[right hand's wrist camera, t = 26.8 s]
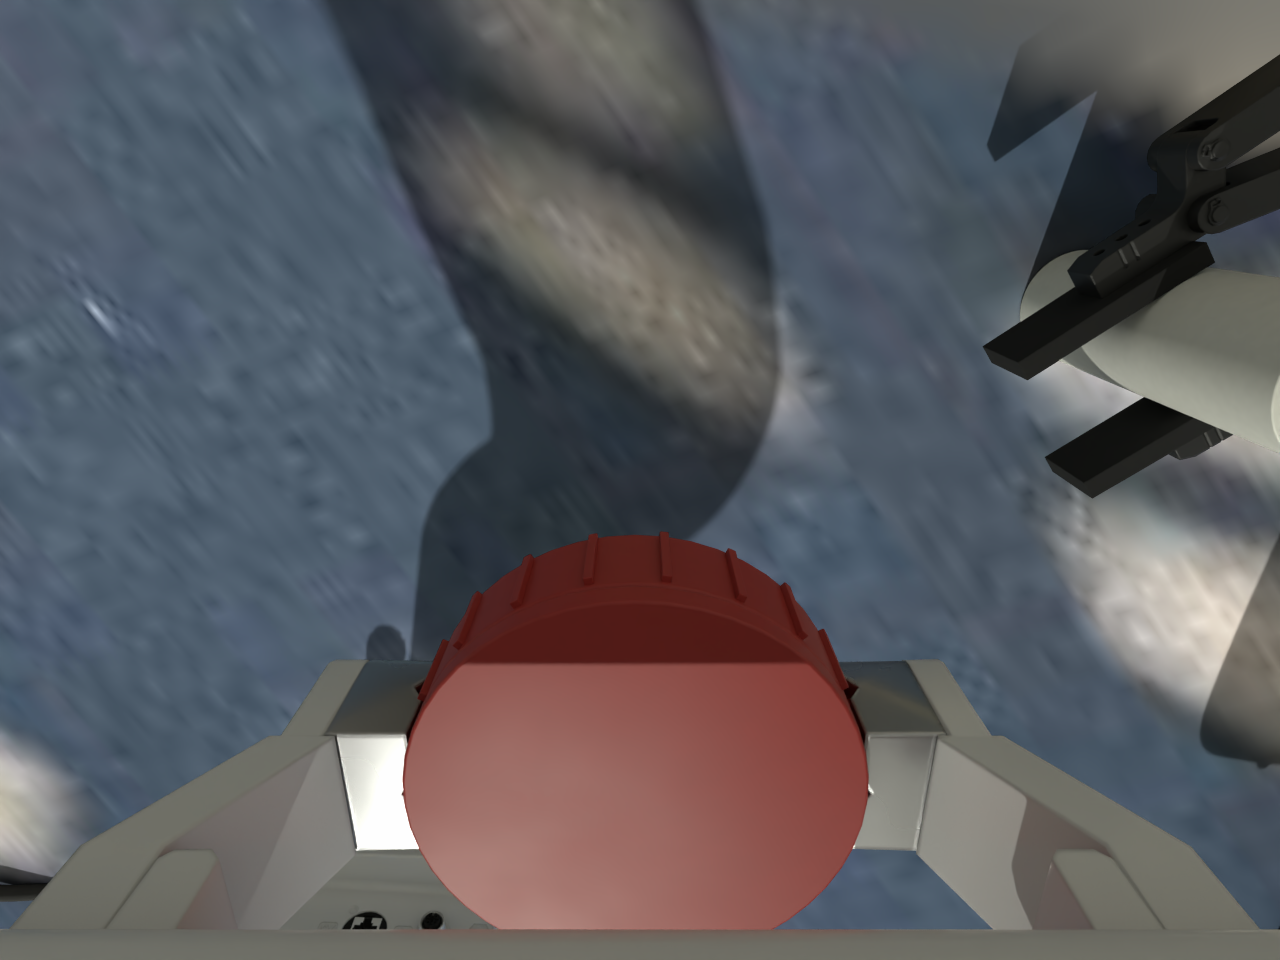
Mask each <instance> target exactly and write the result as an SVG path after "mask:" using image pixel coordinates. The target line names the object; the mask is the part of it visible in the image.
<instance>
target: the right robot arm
mask: <svg viewBox="0 0 1280 960" xmlns="http://www.w3.org/2000/svg"><path fill="white" fill-rule="evenodd" d="M432 663H433V661H408V660H371V661H370V660H335V661H332V662H330V663H329V664H328V665H327V666H326V668H325V669H324V671H323V672H322V674H321V675H320V677H319V678H318V680H317V681H316V683H315V684H314V686H313V687H312V689H311V690H310V692H309V694H308V695H307V697H306V698H305V700H304V701H303V703H302V704H301V706H300V707H299V709H298V710H297V712H296V713H295V715H294V716H293V718H292V719H291V721H290V722H289V724H288V725H287V727H286V728H285V730H284V731H283V733H282V734H281V736H268V737H267V738H265V739H263V740H261V741H260V742H258V743H256V744H255V745H253V746H251V747H249V748H248V749H246V750H244V751H243V752H241V753H239V754H237V755H236V756H234V757H232V758H230V759H229V760H227V761H225V762H224V763H222V764H220V765H218V766H217V767H215V768H213V769H212V770H210V771H208V772H206V773H205V774H203V775H201V776H199V777H198V778H196V779H194V780H193V781H191V782H189V783H187V784H186V785H184V786H182V787H181V788H179V789H177V790H175V791H174V792H172V793H170V794H169V795H167V796H165V797H163V798H162V799H160V800H158V801H156V802H155V803H153V804H151V805H150V806H148V807H146V808H144V809H143V810H141V811H139V812H138V813H136V814H134V815H132V816H131V817H129V818H127V819H125V820H124V821H122V822H120V823H119V824H117V825H115V826H113V827H112V828H110V829H108V830H107V831H105V832H103V833H101V834H100V835H98V836H96V837H95V838H93V839H91V840H89V841H88V842H86V843H84V844H82V845H81V846H80V847H79V848H78V849H77V850H76V851H75V853H74V854H73V855H72V856H71V857H70V858H69V860H68V861H67V862H66V863H65V864H64V865H63V867H62V868H61V869H60V870H59V871H58V872H57V874H56V875H55V876H54V877H53V878H52V879H51V881H50V882H49V883H48V884H25V885H0V902H3V901H29V900H34V901H33V902H32V903H31V904H30V905H29V906H28V908H27V909H26V910H25V911H24V912H23V913H22V915H21V916H20V917H19V918H18V919H17V920H16V922H15V923H14V924H13V925H12V926H11V927H10V929H0V960H1280V929H1259V928H1258V926H1257V925H1256V924H1255V923H1254V922H1253V920H1252V919H1251V918H1250V917H1249V916H1248V914H1247V913H1246V912H1245V911H1244V910H1243V908H1242V907H1241V906H1240V905H1239V904H1238V902H1237V901H1236V900H1235V899H1234V898H1233V896H1232V895H1231V894H1230V893H1229V892H1228V890H1227V889H1226V888H1225V887H1224V886H1223V884H1222V883H1221V882H1220V881H1219V880H1218V878H1217V877H1216V876H1215V875H1214V874H1213V872H1212V871H1211V870H1210V869H1209V868H1208V866H1207V865H1206V864H1205V863H1204V862H1203V860H1202V859H1201V858H1200V857H1199V856H1198V854H1197V853H1196V852H1195V851H1194V850H1193V848H1192V847H1190V846H1189V845H1187V844H1185V843H1184V842H1182V841H1180V840H1179V839H1177V838H1175V837H1173V836H1172V835H1170V834H1168V833H1167V832H1165V831H1163V830H1162V829H1160V828H1158V827H1157V826H1155V825H1153V824H1151V823H1150V822H1148V821H1146V820H1145V819H1143V818H1141V817H1140V816H1138V815H1136V814H1134V813H1133V812H1131V811H1129V810H1128V809H1126V808H1124V807H1123V806H1121V805H1119V804H1117V803H1116V802H1114V801H1112V800H1111V799H1109V798H1107V797H1106V796H1104V795H1102V794H1100V793H1099V792H1097V791H1095V790H1094V789H1092V788H1090V787H1089V786H1087V785H1085V784H1083V783H1082V782H1080V781H1078V780H1077V779H1075V778H1073V777H1072V776H1070V775H1068V774H1066V773H1065V772H1063V771H1061V770H1060V769H1058V768H1056V767H1055V766H1053V765H1051V764H1049V763H1048V762H1046V761H1044V760H1043V759H1041V758H1039V757H1038V756H1036V755H1034V754H1032V753H1031V752H1029V751H1027V750H1026V749H1024V748H1022V747H1021V746H1019V745H1017V744H1016V743H1014V742H1012V741H1010V740H1009V739H1007V738H1005V737H1004V736H991V734H990V733H989V731H988V730H987V728H986V727H985V725H984V724H983V722H982V721H981V719H980V718H979V716H978V715H977V713H976V711H975V710H974V708H973V707H972V705H971V704H970V702H969V701H968V699H967V698H966V696H965V695H964V693H963V692H962V690H961V689H960V687H959V685H958V684H957V682H956V681H955V679H954V678H953V676H952V675H951V673H950V672H949V670H948V669H947V667H946V666H945V664H944V663H943V662H941V661H940V660H938V659H925V660H902V661H873V662H839V665H840V667H841V669H842V672H843V674H844V676H845V679H846V681H847V684H848V686H849V688H847V689H844V693H845V695H846V698H847V699H848V700H849V701H850V708H851V711H852V713H853V715H854V717H855V720H856V722H857V725H858V727H859V730H860V734H861V737H862V740H863V744H864V747H865V751H866V756H867V765H868V773H869V784H868V801H867V806H866V810H865V815H864V819H863V824H862V827H861V830H860V832H859V835H858V837H857V840H856V842H855V845H854V847H853V849H882V850H917V852H916V854H917V855H918V856H919V857H920V858H921V859H922V860H923V861H924V862H925V863H926V864H927V865H928V866H929V867H930V868H931V869H932V870H933V871H935V872H936V873H937V874H938V875H939V876H940V877H941V878H942V879H943V880H944V881H945V882H946V883H947V884H948V885H949V886H950V887H951V888H952V889H953V890H954V891H955V892H956V893H957V894H958V895H959V896H960V897H961V898H962V899H963V900H964V901H965V902H966V903H967V904H968V905H969V906H970V907H971V908H972V909H973V910H974V911H975V912H976V913H977V914H978V915H979V916H980V917H981V918H982V919H983V920H984V921H985V922H986V923H987V924H989V925H990V926H991V927H992V928H993V929H994V930H744V929H498V928H496V927H494V926H493V925H491V924H489V923H487V922H486V921H484V920H483V919H482V918H480V917H479V916H478V915H476V914H475V913H473V912H472V911H471V910H469V909H468V908H467V907H465V906H464V905H463V904H462V903H461V902H460V901H459V900H458V899H457V898H456V897H455V896H454V895H453V894H452V893H451V892H449V891H448V890H447V889H446V887H445V886H444V885H443V884H442V882H441V881H440V880H439V879H438V878H437V876H436V875H435V874H434V873H433V871H432V870H431V869H430V867H429V865H428V864H427V862H426V860H425V859H424V857H423V855H422V854H421V852H420V850H419V848H418V846H417V844H416V841H415V839H414V836H413V834H412V832H411V829H410V826H409V822H408V818H407V814H406V810H405V805H404V796H403V782H402V777H403V766H404V756H405V752H406V748H407V744H408V741H409V737H410V733H411V730H412V728H413V725H414V723H415V721H416V718H417V716H418V714H419V711H420V709H421V706H422V704H423V702H424V701H421V700H418V699H417V697H418V695H419V693H420V691H421V688H422V686H423V684H424V681H425V679H426V677H427V674H428V672H429V670H430V668H431V665H432Z"/></svg>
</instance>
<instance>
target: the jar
mask: <svg viewBox="0 0 1280 960" xmlns="http://www.w3.org/2000/svg"><path fill="white" fill-rule="evenodd" d="M1086 251H1088V250H1078V251H1073V252H1070V253H1067V254H1064V255H1062V256H1060V257H1057V258H1056V259H1054V260H1052V261H1051V262H1049V263H1048V264H1047V265H1046V266H1044V267H1043V268H1042V269H1041V270H1040V271H1039V272H1038V273H1037V274H1036V275H1035V277H1034V278H1033V279H1032V281H1031V282H1030V284H1029V285H1028V287H1027V289H1026V291H1025V294H1024V296H1023V299H1022V303H1021V309H1020V322H1021V321H1023V320H1024V319H1026V318H1027V317H1029V316H1030V315H1032V314H1033V313H1035V312H1037V311H1038V310H1040V309H1041V308H1043V307H1044V306H1046V305H1047V304H1049V303H1050V302H1052V301H1054V300H1055V299H1057V298H1058V297H1060V296H1061V295H1063V294H1064V293H1066V292H1067V291H1069V290H1071V289H1072V288H1074V287H1075V286H1074V284H1073V282H1072V280H1071V278H1070V276H1069V274H1068V272H1067V270H1068V269H1069V268H1070V266H1071V265H1072V264H1073V263H1074V261H1075V260H1076V259H1077V258H1078V257H1079V256H1080V255H1082V254H1083V253H1085V252H1086ZM1059 361H1060V362H1063V363H1065V364H1068V365H1070V366H1072V367H1075V368H1077V369H1079V370H1082V371H1084V372H1087V373H1089V374H1091V375H1094V376H1096V377H1098V378H1101V379H1103V380H1105V381H1108V382H1110V383H1113V384H1115V385H1117V386H1120V387H1122V388H1124V389H1127V390H1129V391H1132V392H1134V393H1136V394H1139V395H1141V396H1143V397H1146V398H1148V399H1151V400H1153V401H1155V402H1158V403H1160V404H1162V405H1165V406H1167V407H1170V408H1172V409H1174V410H1177V411H1179V412H1181V413H1184V414H1186V415H1188V416H1191V417H1193V418H1196V419H1198V420H1200V421H1203V422H1205V423H1207V424H1210V425H1212V426H1215V427H1217V428H1219V429H1222V430H1224V431H1226V432H1229V433H1231V434H1234V435H1236V436H1238V437H1241V438H1243V439H1245V440H1248V441H1250V442H1253V443H1255V444H1257V445H1260V446H1262V447H1264V448H1267V449H1269V450H1272V451H1274V452H1276V453H1279V454H1280V278H1279V277H1272V276H1265V275H1258V274H1251V273H1244V272H1238V271H1231V270H1224V269H1217V268H1210V267H1207V268H1205V269H1204V270H1202V271H1200V272H1199V273H1197V274H1196V275H1194V276H1192V277H1191V278H1189V279H1188V280H1186V281H1185V282H1183V283H1181V284H1180V285H1178V286H1176V287H1175V288H1173V289H1172V290H1170V291H1169V292H1167V293H1165V294H1164V295H1162V296H1161V297H1159V298H1158V299H1156V300H1154V301H1153V302H1151V303H1150V304H1148V305H1146V306H1145V307H1143V308H1142V309H1140V310H1138V311H1137V312H1135V313H1134V314H1132V315H1131V316H1129V317H1127V318H1126V319H1124V320H1123V321H1121V322H1119V323H1118V324H1116V325H1115V326H1113V327H1111V328H1110V329H1108V330H1107V331H1105V332H1103V333H1102V334H1100V335H1099V336H1097V337H1096V338H1094V339H1092V340H1091V341H1089V342H1088V343H1086V344H1084V345H1083V346H1081V347H1080V348H1078V349H1076V350H1075V351H1073V352H1072V353H1070V354H1069V355H1067V356H1065V357H1064V358H1062V359H1061V360H1059Z"/></svg>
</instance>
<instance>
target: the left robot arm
mask: <svg viewBox="0 0 1280 960" xmlns="http://www.w3.org/2000/svg"><path fill="white" fill-rule="evenodd" d="M1279 131H1280V55H1278V56H1277V57H1275V58H1274V59H1272V60H1271V61H1270V62H1268V63H1267V64H1265V65H1264V66H1262V67H1261V68H1259V69H1258V70H1256V71H1255V72H1253V73H1252V74H1250V75H1249V76H1248V77H1246V78H1245V79H1243V80H1242V81H1240V82H1239V83H1237V84H1236V85H1234V86H1233V87H1231V88H1230V89H1229V90H1227V91H1226V92H1224V93H1223V94H1221V95H1220V96H1218V97H1217V98H1215V99H1214V100H1212V101H1211V102H1209V103H1208V104H1207V105H1205V106H1204V107H1202V108H1201V109H1199V110H1198V111H1196V112H1195V113H1193V114H1192V115H1190V116H1189V117H1187V118H1186V119H1185V120H1183V121H1182V122H1180V123H1179V124H1177V125H1176V126H1174V127H1173V128H1171V129H1170V130H1168V131H1167V132H1166V133H1164V134H1163V135H1161V136H1160V137H1158V138H1157V139H1156V140H1155V141H1154V142H1153V143H1152V145H1151V146H1150V148H1149V150H1148V155H1147V161H1148V165H1149V166H1150V168H1151V169H1152V170H1154V171H1156V172H1157V185H1158V188H1157V194H1149V195H1148V196H1146V197H1145V198H1143V199H1142V200H1141V202H1140V203H1139V204H1138V206H1137V209H1136V213H1135V218H1136V219H1135V220H1134V221H1132V222H1131V223H1129V224H1127V225H1126V226H1124V227H1123V228H1121V229H1120V230H1118V231H1117V232H1115V233H1114V234H1112V235H1111V236H1109V237H1108V238H1107V239H1106V240H1103V241H1102V242H1100V243H1099V244H1097V245H1096V246H1095V247H1092V248H1091V249H1089V250H1088V251H1086V252H1085V253H1083V254H1082V255H1080V256H1079V257H1078V258H1077V259H1076V260H1075V261H1074V263H1073V264H1072V265H1071V266H1070V268H1069V269H1068V270H1067V272H1068V274H1069V276H1070V278H1071V280H1072V282H1073V284H1074V286H1075V287H1074V288H1072V289H1071V290H1069V291H1067V292H1066V293H1064V294H1063V295H1061V296H1060V297H1058V298H1057V299H1055V300H1054V301H1052V302H1050V303H1049V304H1047V305H1046V306H1044V307H1043V308H1041V309H1040V310H1038V311H1037V312H1035V313H1033V314H1032V315H1030V316H1029V317H1027V318H1026V319H1024V320H1023V321H1021V322H1020V323H1018V324H1017V325H1015V326H1013V327H1012V328H1010V329H1009V330H1007V331H1006V332H1004V333H1003V334H1001V335H1000V336H998V337H996V338H995V339H993V340H992V341H990V342H989V343H987V344H986V345H984V346H983V348H984V350H985V351H986V353H987V355H988V357H989V359H990V360H991V362H992V363H993V364H995V365H997V366H999V367H1002V368H1004V369H1006V370H1008V371H1010V372H1012V373H1014V374H1016V375H1018V376H1020V377H1022V378H1024V379H1026V380H1029V379H1030V378H1032V377H1034V376H1035V375H1037V374H1038V373H1040V372H1042V371H1043V370H1045V369H1046V368H1048V367H1049V366H1051V365H1053V364H1054V363H1056V362H1057V361H1059V360H1061V359H1062V358H1064V357H1065V356H1067V355H1069V354H1070V353H1072V352H1073V351H1075V350H1076V349H1078V348H1080V347H1081V346H1083V345H1084V344H1086V343H1088V342H1089V341H1091V340H1092V339H1094V338H1096V337H1097V336H1099V335H1100V334H1102V333H1103V332H1105V331H1107V330H1108V329H1110V328H1111V327H1113V326H1115V325H1116V324H1118V323H1119V322H1121V321H1123V320H1124V319H1126V318H1127V317H1129V316H1131V315H1132V314H1134V313H1135V312H1137V311H1138V310H1140V309H1142V308H1143V307H1145V306H1146V305H1148V304H1150V303H1151V302H1153V301H1154V300H1156V299H1158V298H1159V297H1161V296H1162V295H1164V294H1165V293H1167V292H1169V291H1170V290H1172V289H1173V288H1175V287H1176V286H1178V285H1180V284H1181V283H1183V282H1185V281H1186V280H1188V279H1189V278H1191V277H1192V276H1194V275H1196V274H1197V273H1199V272H1200V271H1202V270H1204V269H1205V268H1207V267H1208V266H1210V265H1212V264H1213V263H1215V261H1214V259H1213V257H1212V254H1211V252H1210V250H1209V247H1208V245H1207V243H1206V242H1197V241H1196V240H1197V239H1199V238H1200V237H1202V236H1204V235H1205V234H1215V233H1220V232H1222V231H1225V230H1228V229H1230V228H1233V227H1235V226H1238V225H1240V224H1243V223H1245V222H1248V221H1250V220H1253V219H1256V218H1258V217H1261V216H1263V215H1266V214H1268V213H1271V212H1273V211H1276V210H1278V209H1280V148H1278V149H1275V150H1273V151H1270V152H1268V153H1265V154H1263V155H1260V156H1258V157H1255V158H1253V159H1250V160H1248V161H1245V162H1243V163H1240V164H1238V165H1236V166H1233V167H1231V168H1228V169H1226V166H1227V165H1229V164H1230V163H1232V162H1233V161H1235V160H1236V159H1238V158H1239V157H1241V156H1242V155H1244V154H1245V153H1247V152H1248V151H1250V150H1251V149H1253V148H1254V147H1256V146H1257V145H1259V144H1260V143H1262V142H1263V141H1265V140H1267V139H1268V138H1270V137H1271V136H1273V135H1274V134H1276V133H1277V132H1279ZM1232 435H1234V434H1231V433H1229V432H1226V431H1224V430H1222V429H1219V428H1217V427H1215V426H1212V425H1210V424H1207V423H1205V422H1203V421H1200V420H1198V419H1196V418H1193V417H1191V416H1188V415H1186V414H1184V413H1181V412H1179V411H1177V410H1174V409H1172V408H1170V407H1167V406H1165V405H1162V404H1160V403H1158V402H1155V401H1153V400H1151V399H1148V398H1146V397H1144V398H1142V399H1140V400H1139V401H1137V402H1135V403H1134V404H1132V405H1130V406H1129V407H1127V408H1125V409H1124V410H1122V411H1120V412H1119V413H1117V414H1115V415H1114V416H1112V417H1110V418H1109V419H1107V420H1105V421H1104V422H1102V423H1101V424H1099V425H1097V426H1096V427H1094V428H1092V429H1091V430H1089V431H1087V432H1086V433H1084V434H1082V435H1081V436H1079V437H1077V438H1076V439H1074V440H1072V441H1071V442H1069V443H1067V444H1066V445H1064V446H1062V447H1061V448H1059V449H1057V450H1056V451H1054V452H1052V453H1051V454H1049V455H1048V456H1046V457H1045V458H1046V460H1047V462H1048V464H1049V466H1050V467H1051V469H1052V471H1053V472H1054V473H1056V474H1057V475H1058V476H1060V477H1061V478H1063V479H1064V480H1066V481H1067V482H1069V483H1070V484H1072V485H1073V486H1075V487H1076V488H1078V489H1079V490H1081V491H1082V492H1084V493H1085V494H1087V495H1088V496H1089V497H1091V498H1094V497H1096V496H1097V495H1099V494H1101V493H1103V492H1104V491H1106V490H1108V489H1109V488H1111V487H1113V486H1115V485H1116V484H1118V483H1120V482H1121V481H1123V480H1125V479H1127V478H1128V477H1130V476H1132V475H1133V474H1135V473H1137V472H1139V471H1140V470H1142V469H1144V468H1145V467H1147V466H1149V465H1151V464H1152V463H1154V462H1156V461H1157V460H1159V459H1161V458H1163V457H1164V456H1166V455H1168V454H1169V455H1171V456H1173V457H1175V458H1177V459H1179V460H1182V459H1187V458H1191V457H1195V456H1197V455H1199V454H1201V453H1202V452H1204V451H1206V450H1208V449H1209V448H1210V447H1213V446H1214V445H1216V444H1218V443H1220V442H1221V440H1225V439H1227V438H1228V437H1230V436H1232Z"/></svg>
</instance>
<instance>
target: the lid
mask: <svg viewBox="0 0 1280 960" xmlns="http://www.w3.org/2000/svg"><path fill="white" fill-rule="evenodd" d="M847 688H849V686H848V684H847V681H846V679H845V676H844V674H843V672H842V669H841V667H840V665H839V662H838V660H837V657H836V655H835V653H834V650H833V648H832V645H831V643H830V641H829V638H828V636H827V634H826V632H825V630H824V629H821V630H819V631H818V630H817V628H816V627H815V625H814V624H813V622H812V621H811V619H810V618H809V617H808V615H807V614H806V612H805V611H804V609H803V608H802V607H801V606H800V605H799V604H798V603H797V602H796V601H795V598H794V596H793V593H792V590H791V588H790V586H789V585H788V584H786V583H785V582H784V583H783V584H782V585H781V586H780V585H778V584H777V583H776V582H775V581H774V580H772V579H771V578H770V577H769V576H767V575H766V574H764V573H763V572H761V571H759V570H758V569H756V568H755V567H753V566H751V565H750V564H748V563H746V562H745V561H743V560H741V559H738V558H737V555H736V551H734V550H732V549H729V548H728V549H727V551H726V553H725V552H722V551H720V550H718V549H715V548H711V547H708V546H705V545H702V544H698V543H695V542H692V541H686V540H681V539H675V538H669V533H668V532H660V535H659V536H646V535H625V536H610V537H602V538H598V534H597V533H596V534H590V535H589V538H588V540H586V541H581V542H577V543H573V544H570V545H567V546H564V547H561V548H558V549H554V550H551V551H549V552H547V553H545V554H543V555H540V556H538V557H536V558H533V556H532V555H531V554H529V555H527V556H525V557H524V558H523V562H522V565H521V566H519V567H517V568H516V569H514V570H513V571H511V572H509V573H508V574H506V575H505V576H503V577H502V578H501V579H499V580H498V581H497V582H496V583H495V584H493V585H492V586H491V587H490V588H489V589H488V590H486V591H485V592H484V593H483V594H481V593H480V592H478V591H477V592H476V593H475V594H474V595H473V596H472V599H471V601H470V603H469V606H468V608H467V611H466V613H465V615H464V617H463V618H462V620H461V621H460V623H459V624H458V626H457V627H456V629H455V630H454V632H453V634H452V636H451V638H450V641H447V640H444V639H443V640H442V642H441V644H440V647H439V649H438V651H437V654H436V656H435V658H434V661H433V663H432V665H431V668H430V670H429V672H428V674H427V677H426V679H425V681H424V684H423V686H422V688H421V691H420V693H419V695H418V697H417V699H418V700H421V701H424V702H423V704H422V706H421V709H420V711H419V714H418V716H417V718H416V721H415V723H414V725H413V728H412V730H411V733H410V737H409V741H408V744H407V748H406V752H405V756H404V766H403V777H402V782H403V796H404V805H405V810H406V814H407V818H408V822H409V826H410V829H411V832H412V834H413V836H414V839H415V841H416V844H417V846H418V848H419V850H420V852H421V854H422V855H423V857H424V859H425V860H426V862H427V864H428V865H429V867H430V869H431V870H432V871H433V873H434V874H435V875H436V876H437V878H438V879H439V880H440V881H441V882H442V884H443V885H444V886H445V887H446V889H447V890H448V891H449V892H451V893H452V894H453V895H454V896H455V897H456V898H457V899H458V900H459V901H460V902H461V903H462V904H463V905H464V906H465V907H467V908H468V909H469V910H471V911H472V912H473V913H475V914H476V915H478V916H479V917H480V918H482V919H483V920H484V921H486V922H487V923H489V924H491V925H493V926H494V927H496V928H498V929H744V930H772V929H774V928H775V927H777V926H779V925H781V924H782V923H784V922H786V921H787V920H789V919H790V918H791V917H793V916H794V915H795V914H797V913H798V912H799V911H801V910H802V909H803V908H805V907H806V906H807V905H808V904H810V903H811V902H812V901H813V900H814V899H815V898H816V897H817V896H818V895H819V894H820V893H821V892H822V891H823V890H824V889H825V888H826V887H827V886H828V884H829V883H830V882H831V881H832V879H833V878H834V877H835V875H836V874H837V873H838V872H839V870H840V869H841V868H842V866H843V864H844V863H845V861H846V859H847V858H848V856H849V854H850V852H851V851H852V849H853V847H854V845H855V842H856V840H857V837H858V835H859V832H860V830H861V827H862V824H863V819H864V815H865V810H866V806H867V801H868V784H869V773H868V765H867V756H866V751H865V747H864V744H863V740H862V737H861V734H860V730H859V727H858V725H857V722H856V720H855V717H854V715H853V713H852V711H851V708H850V701H849V700H848V699H847V698H846V695H845V693H844V689H847Z"/></svg>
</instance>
